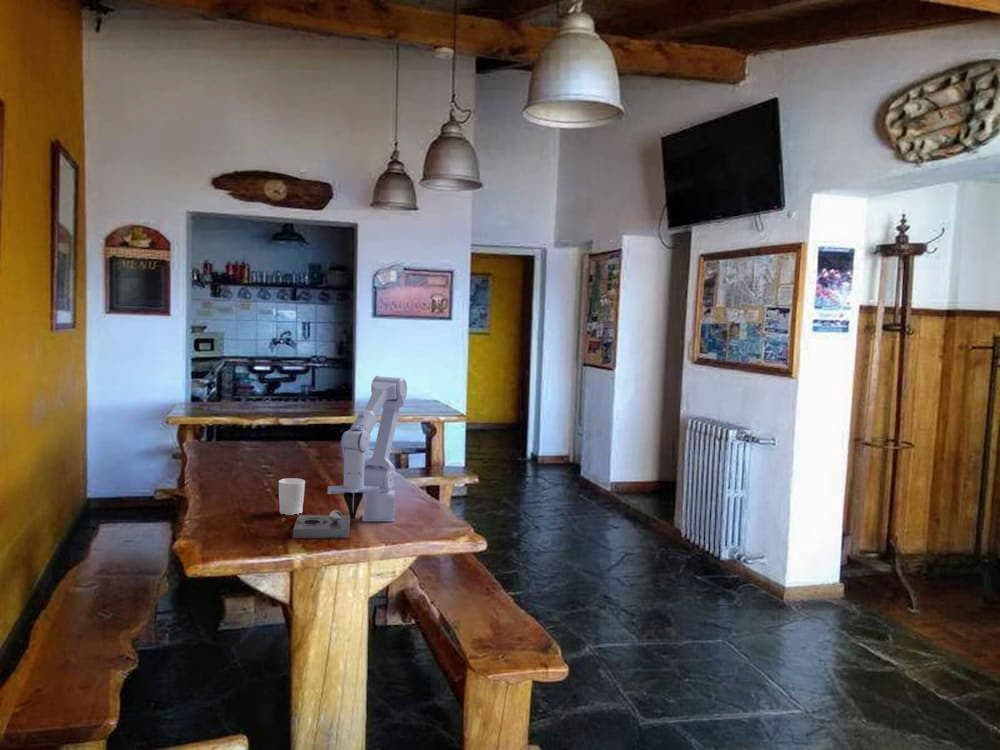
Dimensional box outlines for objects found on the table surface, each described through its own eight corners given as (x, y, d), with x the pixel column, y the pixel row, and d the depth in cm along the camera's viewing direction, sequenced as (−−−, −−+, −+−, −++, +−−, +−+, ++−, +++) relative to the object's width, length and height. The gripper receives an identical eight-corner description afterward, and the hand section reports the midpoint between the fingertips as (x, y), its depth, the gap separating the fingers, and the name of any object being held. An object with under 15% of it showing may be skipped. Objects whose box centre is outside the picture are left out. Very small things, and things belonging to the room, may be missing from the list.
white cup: (277, 516, 228) (278, 483, 227) (277, 509, 235) (278, 478, 235) (304, 515, 230) (305, 483, 229) (303, 509, 238) (304, 478, 237)
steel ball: (341, 520, 217) (342, 508, 217) (341, 523, 214) (341, 511, 214) (329, 520, 217) (330, 508, 216) (328, 523, 213) (329, 511, 213)
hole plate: (350, 523, 224) (350, 515, 223) (348, 538, 209) (348, 529, 209) (298, 523, 221) (298, 515, 221) (292, 538, 206) (293, 529, 206)
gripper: (327, 474, 210) (326, 522, 211) (379, 475, 212) (378, 522, 213) (329, 469, 217) (327, 515, 218) (379, 470, 219) (378, 515, 220)
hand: (352, 518), depth 216 cm, fingers closed
